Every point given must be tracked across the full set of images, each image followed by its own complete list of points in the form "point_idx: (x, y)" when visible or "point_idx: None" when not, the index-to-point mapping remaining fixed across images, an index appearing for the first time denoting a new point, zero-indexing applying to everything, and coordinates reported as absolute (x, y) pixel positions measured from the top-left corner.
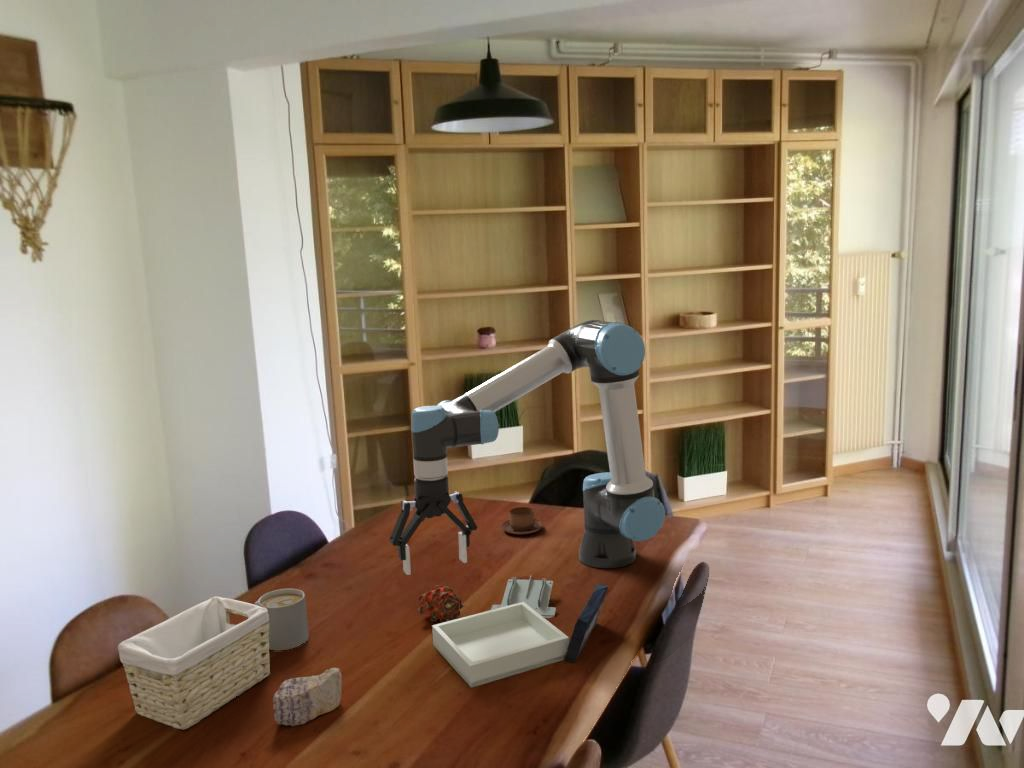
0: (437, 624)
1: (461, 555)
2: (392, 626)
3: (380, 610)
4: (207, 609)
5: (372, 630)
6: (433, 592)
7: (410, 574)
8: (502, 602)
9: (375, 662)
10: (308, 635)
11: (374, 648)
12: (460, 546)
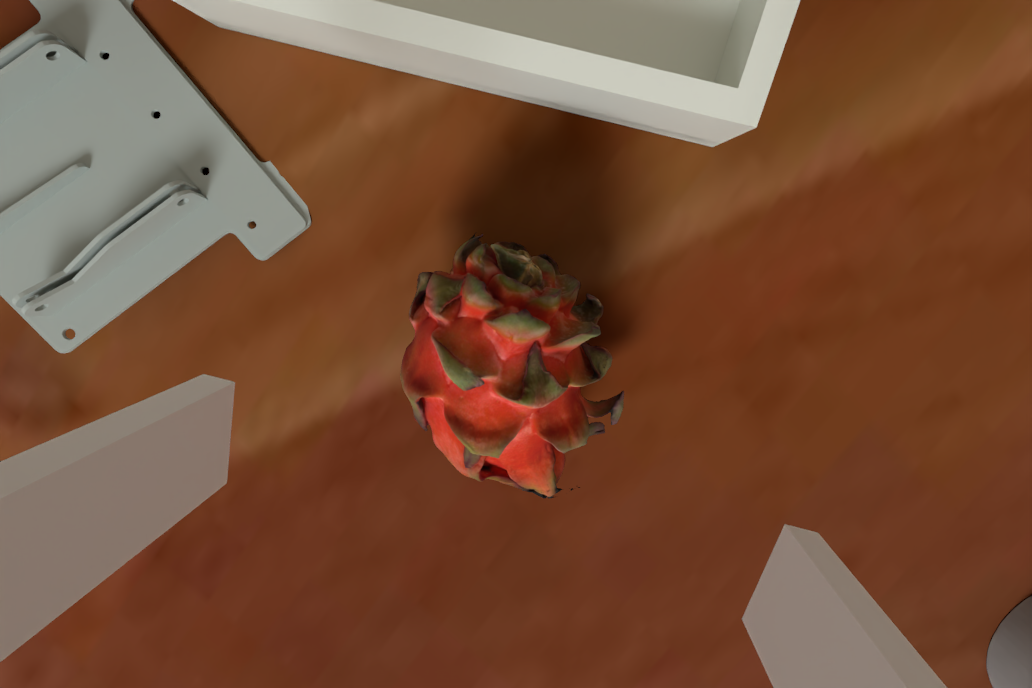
0: (725, 112)
1: (187, 461)
2: (713, 445)
3: (651, 595)
4: None
5: (797, 476)
6: (550, 398)
7: (788, 525)
8: (212, 237)
9: (1016, 205)
10: (1017, 617)
11: (914, 329)
12: (94, 539)
